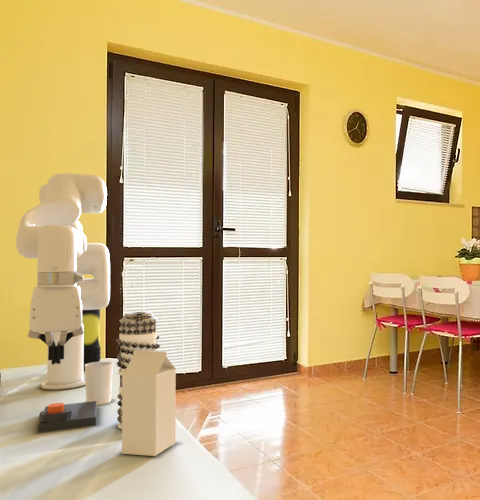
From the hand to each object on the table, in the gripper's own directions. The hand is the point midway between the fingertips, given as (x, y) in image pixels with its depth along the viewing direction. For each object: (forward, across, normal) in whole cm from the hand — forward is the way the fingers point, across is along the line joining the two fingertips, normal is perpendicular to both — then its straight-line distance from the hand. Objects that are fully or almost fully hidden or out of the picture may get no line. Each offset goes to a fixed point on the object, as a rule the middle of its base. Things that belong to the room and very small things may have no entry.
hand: (56, 362), depth 114 cm
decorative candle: (+14, -16, +6) cm, 23 cm away
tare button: (+11, 0, 0) cm, 11 cm away
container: (+14, -4, -69) cm, 71 cm away
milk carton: (+15, -18, +24) cm, 33 cm away
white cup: (+14, -8, -18) cm, 25 cm away
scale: (+14, -2, -5) cm, 15 cm away
